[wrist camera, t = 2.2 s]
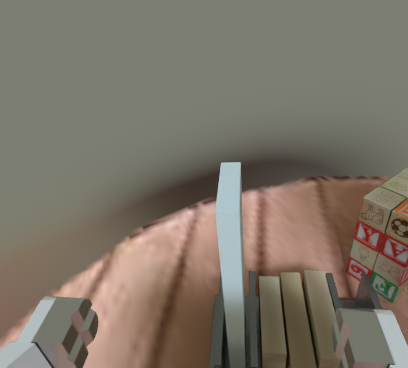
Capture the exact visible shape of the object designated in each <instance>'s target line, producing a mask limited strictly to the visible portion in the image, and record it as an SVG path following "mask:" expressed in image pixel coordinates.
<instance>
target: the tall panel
mask: <svg viewBox="0 0 408 368" xmlns="http://www.w3.org/2000/svg"><path fill="white" fill-rule="evenodd" d="M240 164H241V163H240V162H233V163H221V169H220V177H219V186H218V194H217V202H216V211H215V213H216V224H217V234H218V245H219V256H220V266H221V277H222V288H223V298H224V309H225V320H226V330H227V341H228V351H229V362H230V368H246V314H245V283H244V253H243V223H242V193H241V165H240Z"/></svg>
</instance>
